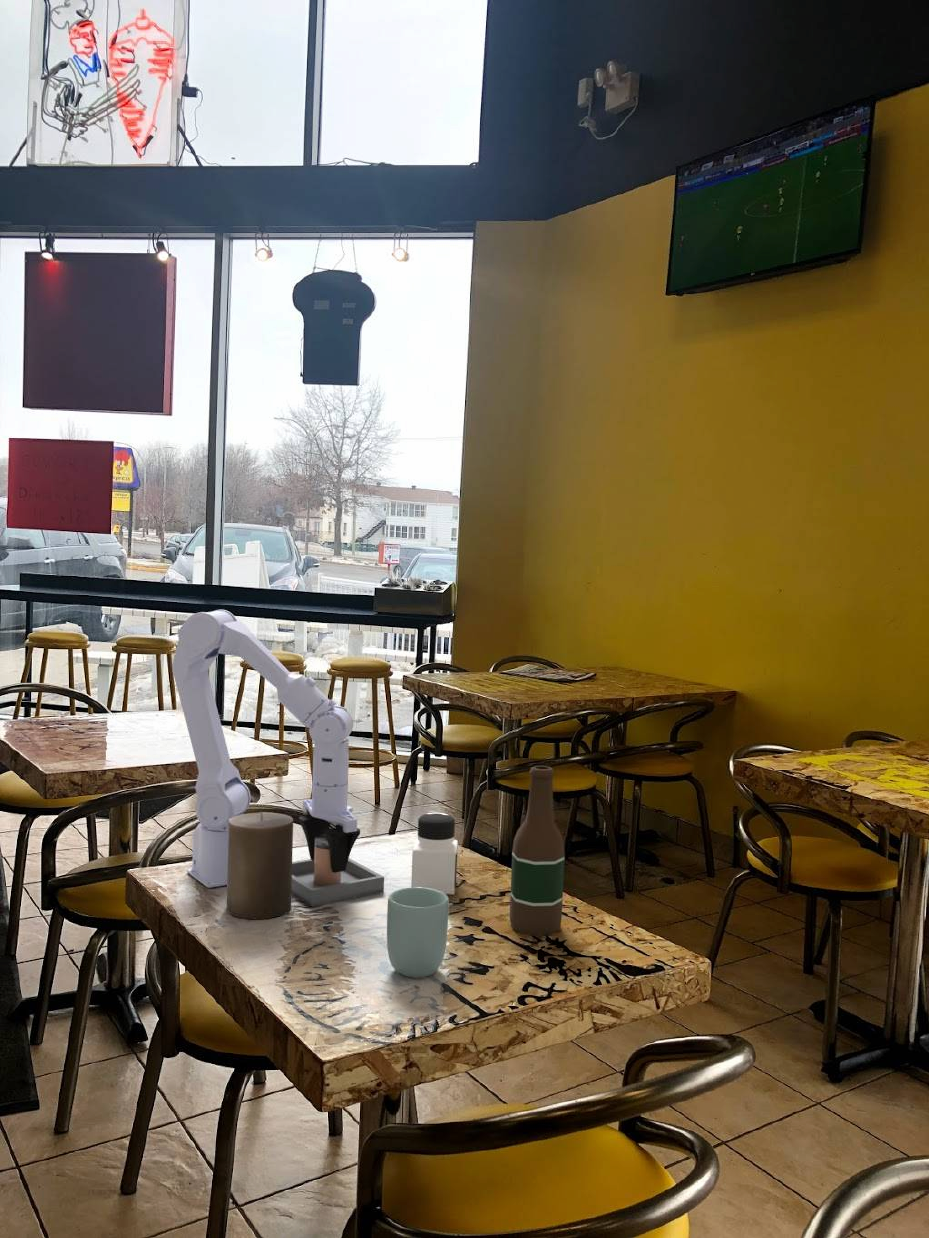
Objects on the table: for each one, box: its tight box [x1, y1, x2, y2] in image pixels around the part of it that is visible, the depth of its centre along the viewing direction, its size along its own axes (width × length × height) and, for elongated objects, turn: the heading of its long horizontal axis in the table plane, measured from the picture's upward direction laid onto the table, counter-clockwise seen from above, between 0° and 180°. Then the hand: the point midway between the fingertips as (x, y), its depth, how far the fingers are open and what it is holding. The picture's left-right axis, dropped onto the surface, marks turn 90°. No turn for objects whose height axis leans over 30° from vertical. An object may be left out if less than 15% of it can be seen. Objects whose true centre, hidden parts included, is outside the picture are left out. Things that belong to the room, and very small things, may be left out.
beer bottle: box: [509, 765, 566, 937], centre depth 147 cm, size 8×8×24 cm
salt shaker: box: [314, 834, 341, 887], centre depth 162 cm, size 4×4×8 cm
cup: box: [386, 886, 450, 979], centre depth 130 cm, size 8×8×10 cm
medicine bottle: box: [410, 812, 459, 896], centre depth 163 cm, size 7×7×12 cm
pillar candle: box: [226, 811, 294, 920], centre depth 151 cm, size 10×10×15 cm
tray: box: [291, 857, 385, 907], centre depth 162 cm, size 14×13×2 cm
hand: (327, 865), depth 162 cm, fingers open, 7 cm apart
